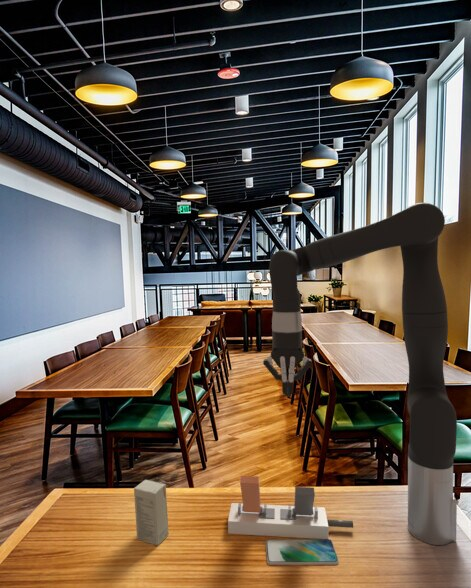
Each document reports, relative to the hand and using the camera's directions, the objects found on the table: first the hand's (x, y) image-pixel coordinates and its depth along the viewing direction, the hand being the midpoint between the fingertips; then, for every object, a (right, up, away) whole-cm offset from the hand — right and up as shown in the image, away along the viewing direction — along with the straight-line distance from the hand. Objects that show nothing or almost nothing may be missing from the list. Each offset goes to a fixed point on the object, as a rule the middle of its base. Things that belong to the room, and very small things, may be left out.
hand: (287, 395), depth 98 cm
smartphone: (+1, -31, -15) cm, 34 cm away
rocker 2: (+3, -26, -8) cm, 27 cm away
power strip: (0, -29, -7) cm, 30 cm away
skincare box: (-33, -31, -9) cm, 46 cm away
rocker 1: (-9, -26, -6) cm, 28 cm away
